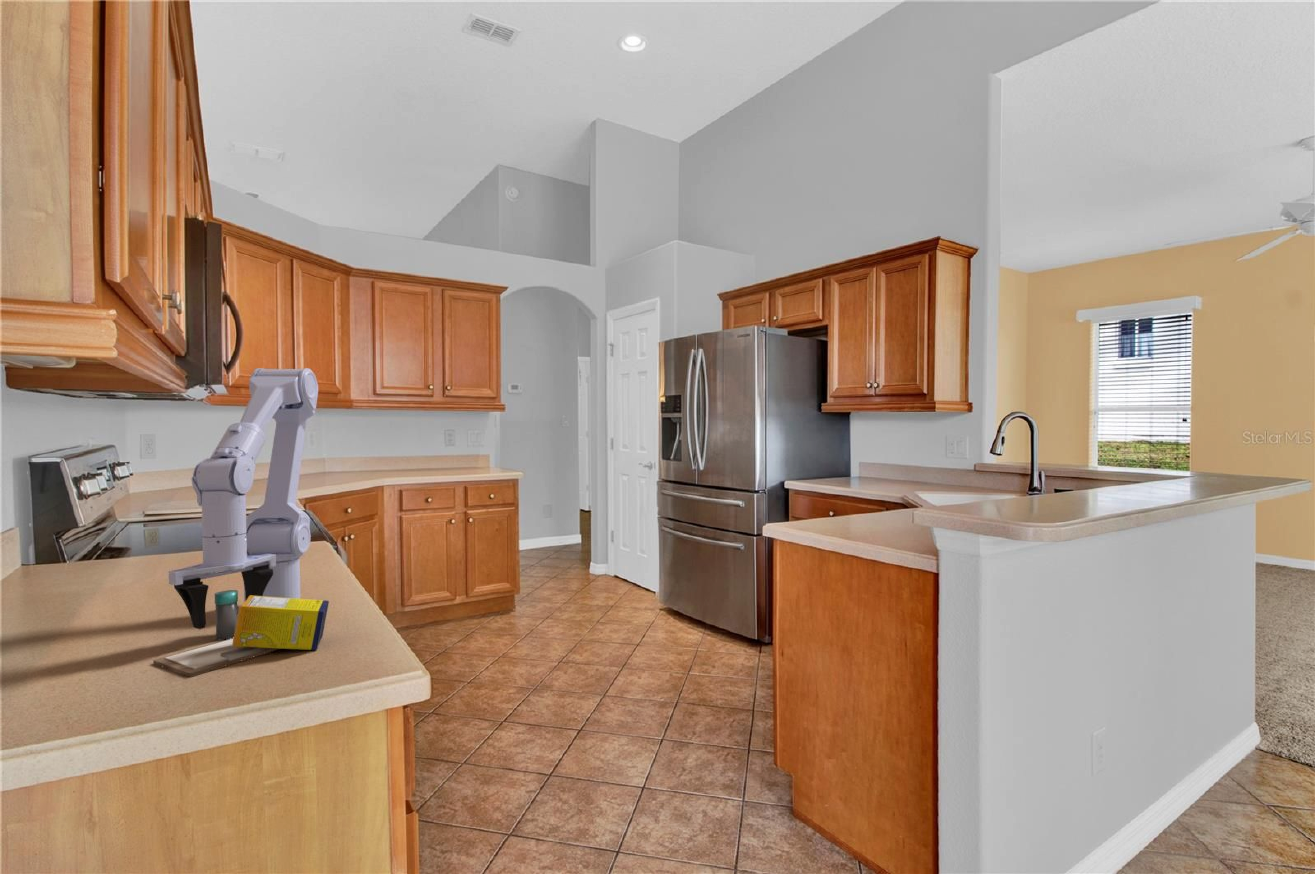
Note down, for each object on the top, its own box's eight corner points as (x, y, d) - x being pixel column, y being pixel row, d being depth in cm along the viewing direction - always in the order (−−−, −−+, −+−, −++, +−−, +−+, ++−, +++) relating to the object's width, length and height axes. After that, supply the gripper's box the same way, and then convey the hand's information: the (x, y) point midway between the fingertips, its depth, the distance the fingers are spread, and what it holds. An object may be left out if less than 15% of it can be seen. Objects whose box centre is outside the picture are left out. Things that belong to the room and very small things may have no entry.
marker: (211, 638, 99) (210, 593, 98) (232, 632, 101) (231, 589, 101) (221, 641, 97) (220, 596, 97) (242, 635, 100) (241, 591, 100)
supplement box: (322, 638, 98) (241, 633, 94) (329, 599, 98) (249, 594, 95) (317, 651, 93) (230, 647, 89) (324, 611, 93) (238, 605, 89)
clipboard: (153, 663, 88) (153, 655, 88) (270, 630, 102) (270, 623, 102) (189, 677, 83) (189, 669, 83) (307, 640, 97) (307, 633, 97)
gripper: (184, 544, 91) (186, 638, 91) (286, 529, 103) (287, 612, 103) (160, 540, 94) (162, 631, 94) (261, 526, 107) (263, 606, 107)
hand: (226, 620), depth 99 cm, fingers open, 7 cm apart
